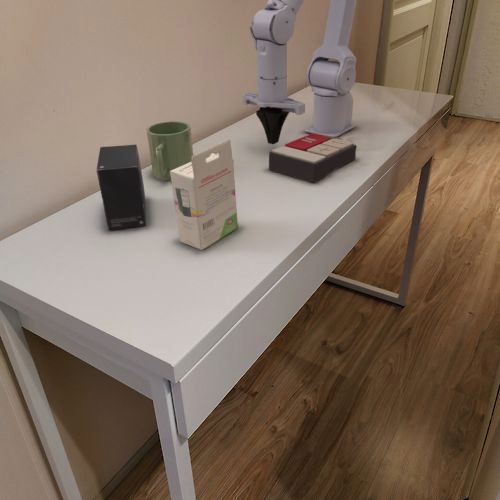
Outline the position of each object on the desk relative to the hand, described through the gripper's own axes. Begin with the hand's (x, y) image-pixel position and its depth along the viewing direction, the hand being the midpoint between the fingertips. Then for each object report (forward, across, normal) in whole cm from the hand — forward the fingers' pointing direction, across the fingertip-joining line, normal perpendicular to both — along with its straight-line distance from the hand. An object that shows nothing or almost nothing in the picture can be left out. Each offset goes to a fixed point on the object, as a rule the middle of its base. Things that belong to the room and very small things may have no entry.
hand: (273, 142), depth 106 cm
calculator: (+2, +11, -1) cm, 11 cm away
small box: (+2, -3, -37) cm, 37 cm away
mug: (+2, -9, -21) cm, 23 cm away
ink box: (+2, +13, -34) cm, 37 cm away
